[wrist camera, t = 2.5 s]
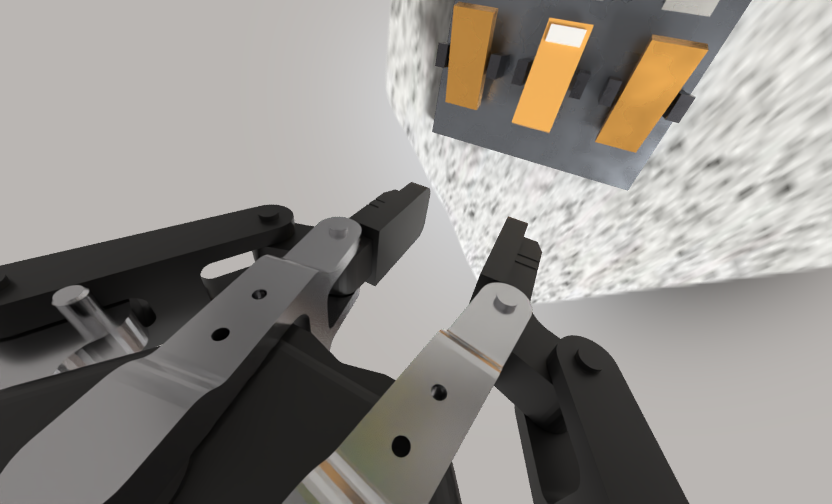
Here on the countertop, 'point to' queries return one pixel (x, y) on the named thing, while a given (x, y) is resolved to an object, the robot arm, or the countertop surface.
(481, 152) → the countertop surface
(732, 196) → the countertop surface
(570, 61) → the middle breaker
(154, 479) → the robot arm
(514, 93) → the breaker panel
